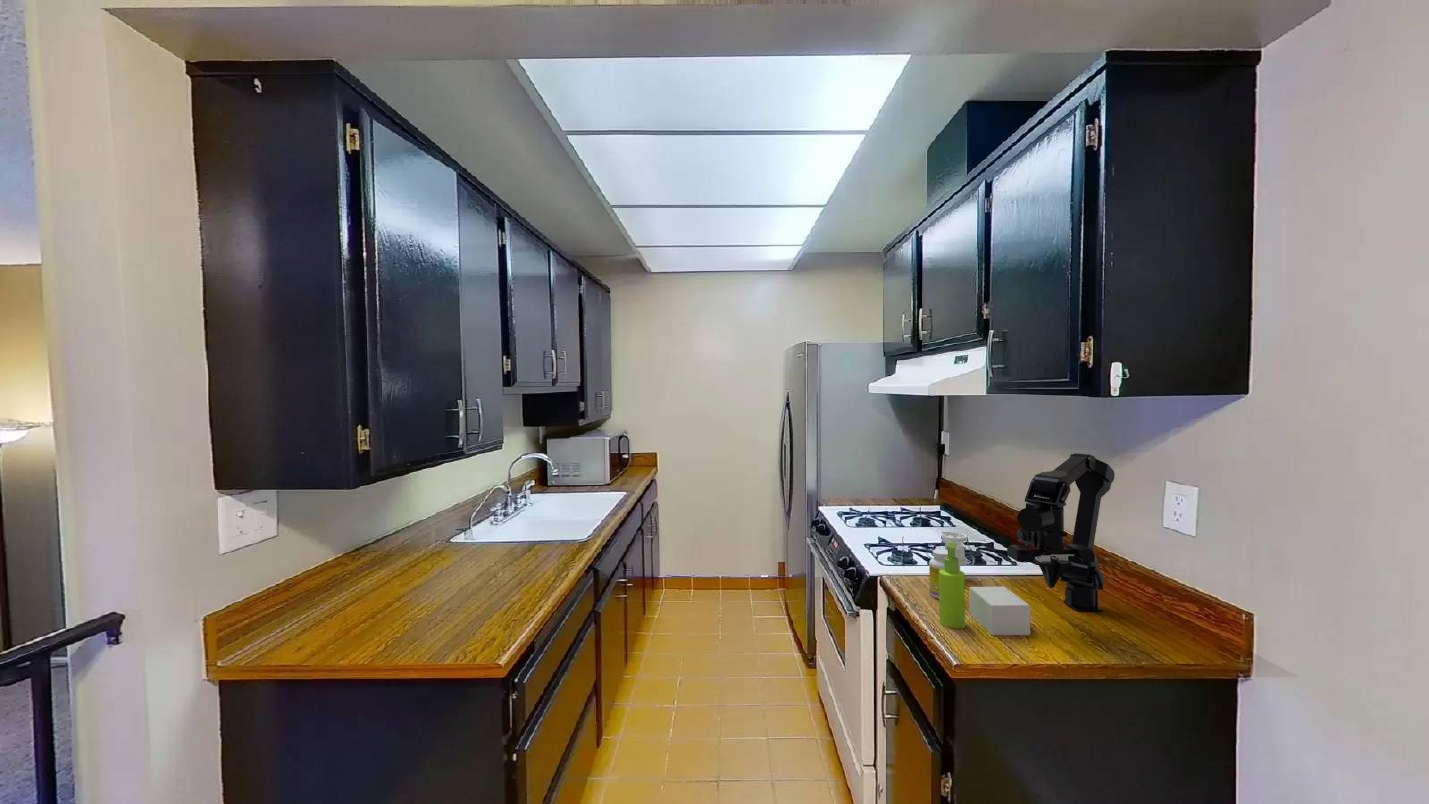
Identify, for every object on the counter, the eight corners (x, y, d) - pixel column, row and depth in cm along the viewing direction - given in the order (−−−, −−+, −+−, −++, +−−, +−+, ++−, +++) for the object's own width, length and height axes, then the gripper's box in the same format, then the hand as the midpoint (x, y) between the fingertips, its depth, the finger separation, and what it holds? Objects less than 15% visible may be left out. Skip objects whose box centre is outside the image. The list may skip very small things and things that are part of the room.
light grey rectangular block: (1004, 613, 137) (1004, 586, 137) (1030, 635, 125) (1029, 605, 125) (969, 613, 137) (969, 586, 137) (992, 635, 125) (991, 605, 125)
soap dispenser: (966, 619, 134) (965, 542, 134) (963, 630, 128) (962, 549, 128) (941, 614, 137) (940, 539, 137) (938, 625, 131) (937, 546, 131)
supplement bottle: (940, 602, 145) (939, 556, 145) (924, 593, 152) (923, 549, 151) (960, 598, 147) (959, 553, 147) (943, 590, 154) (943, 547, 153)
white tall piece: (943, 574, 167) (942, 527, 166) (967, 577, 164) (967, 529, 163) (941, 581, 160) (941, 533, 160) (967, 584, 157) (966, 535, 157)
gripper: (1067, 517, 138) (1068, 575, 138) (995, 517, 138) (996, 576, 139) (1097, 528, 126) (1097, 592, 127) (1018, 528, 127) (1019, 592, 128)
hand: (1050, 587), depth 130 cm, fingers closed
